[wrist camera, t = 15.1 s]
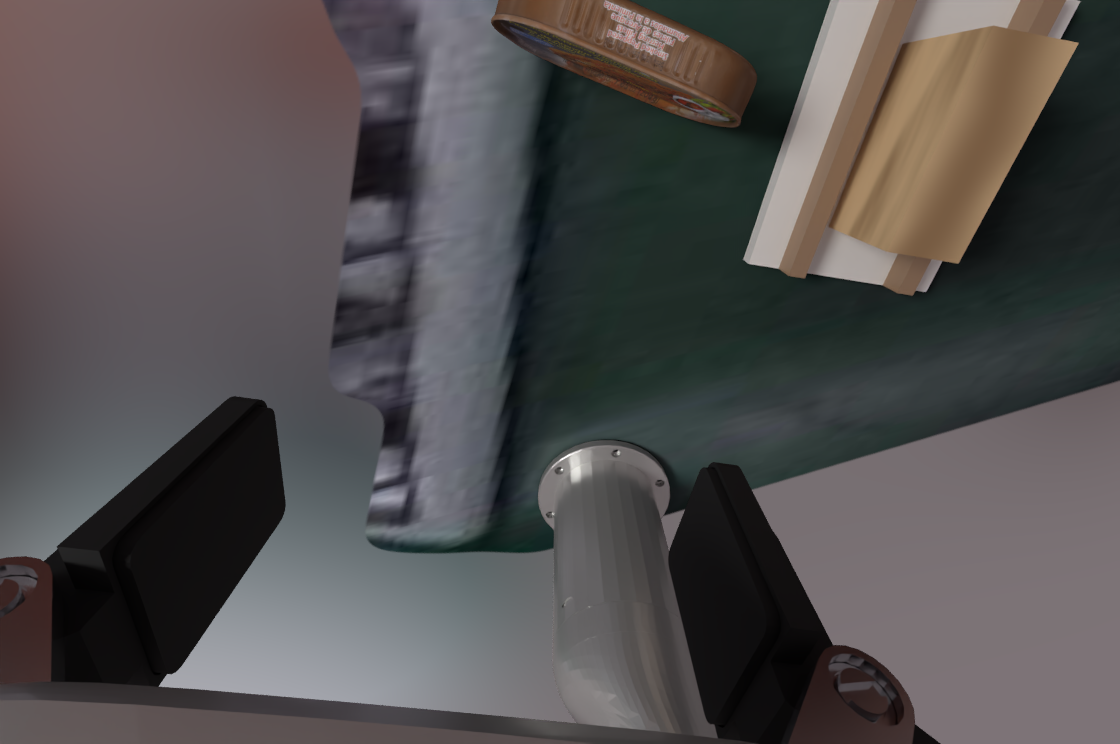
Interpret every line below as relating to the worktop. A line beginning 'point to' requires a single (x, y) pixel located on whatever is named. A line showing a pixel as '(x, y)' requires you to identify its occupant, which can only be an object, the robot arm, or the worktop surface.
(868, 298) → the worktop surface
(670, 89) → the tin
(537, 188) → the worktop surface
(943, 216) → the oak block
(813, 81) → the cradle
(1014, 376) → the worktop surface
